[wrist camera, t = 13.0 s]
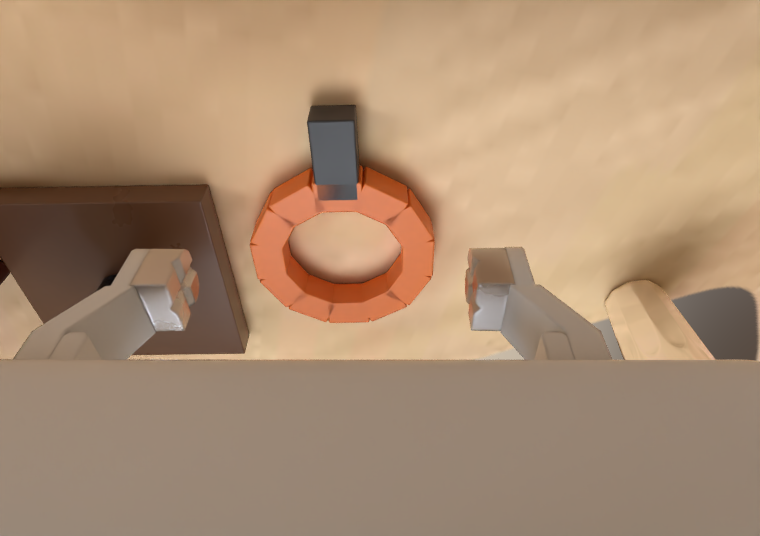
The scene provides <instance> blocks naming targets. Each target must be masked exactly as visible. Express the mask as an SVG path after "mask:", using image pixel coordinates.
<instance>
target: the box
mask: <svg viewBox="0 0 760 536" xmlns="http://www.w3.org/2000/svg"><path fill="white" fill-rule="evenodd" d="M9 273H10V271H9V269H8V268H7V266H6V265H5V264H3V263H2V262H1V261H0V285H1V283H2V282H3V281H4V280H5V279H6V277H7V276H8V275H9Z"/></svg>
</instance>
